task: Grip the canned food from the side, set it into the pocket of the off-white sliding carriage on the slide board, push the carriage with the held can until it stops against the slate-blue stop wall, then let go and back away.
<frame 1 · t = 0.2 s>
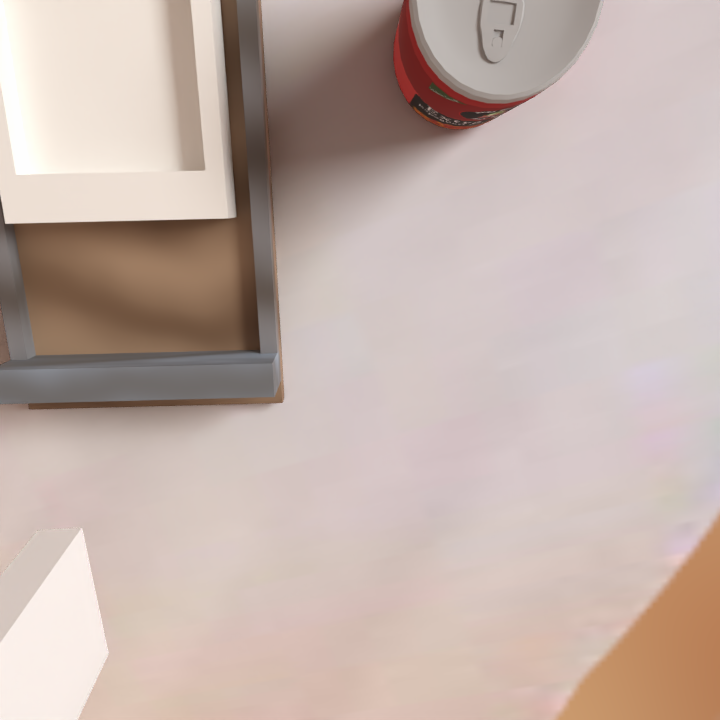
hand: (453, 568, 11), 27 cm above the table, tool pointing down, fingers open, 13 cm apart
canned food: (458, 56, 34), on the table
slide board: (135, 184, 35), on the table
carriage: (109, 89, 32), point 2 cm above the table, slide at 0.0 cm
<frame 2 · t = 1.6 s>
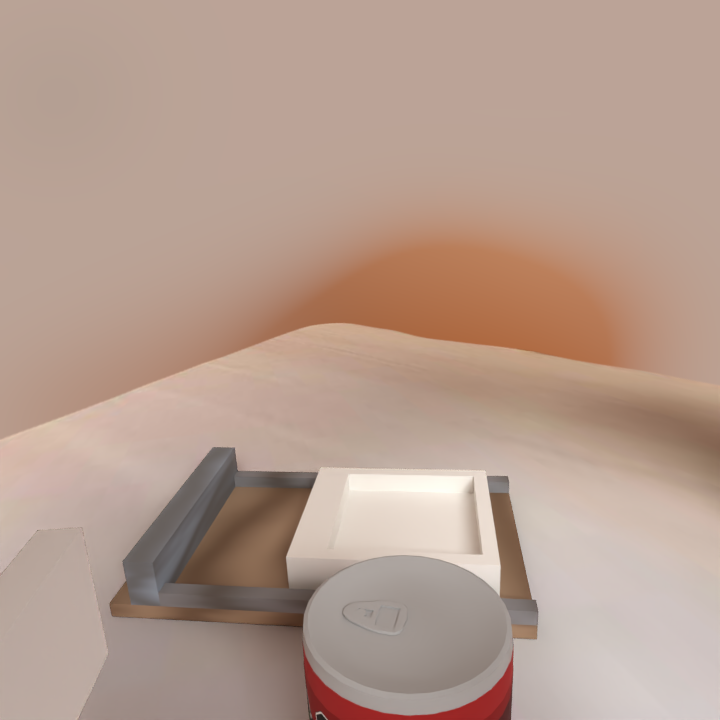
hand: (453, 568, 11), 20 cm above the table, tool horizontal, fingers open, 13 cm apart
slide board: (335, 549, 45), on the table
carriage: (397, 523, 43), point 2 cm above the table, slide at 0.0 cm
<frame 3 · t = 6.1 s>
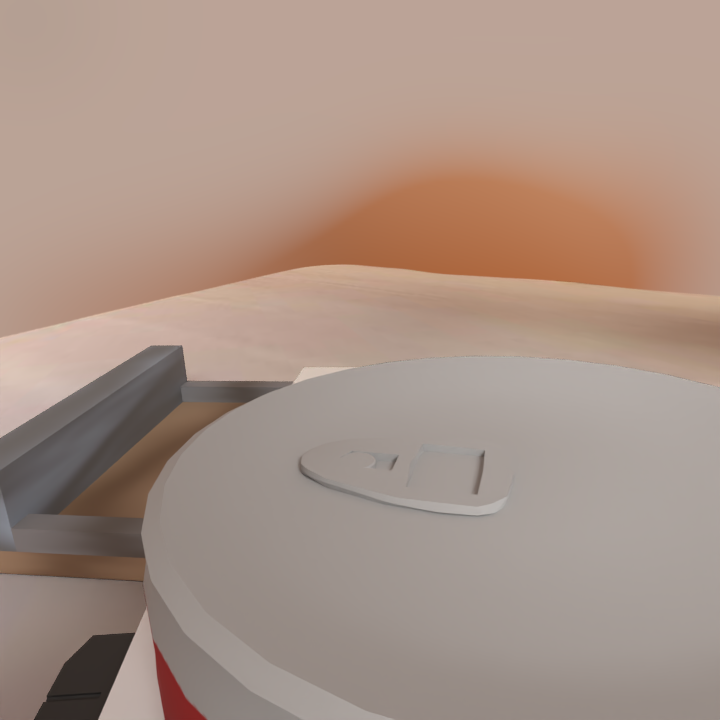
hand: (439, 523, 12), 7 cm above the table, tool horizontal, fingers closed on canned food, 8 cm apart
slide board: (322, 477, 29), on the table
carriage: (420, 434, 27), point 2 cm above the table, slide at 0.0 cm
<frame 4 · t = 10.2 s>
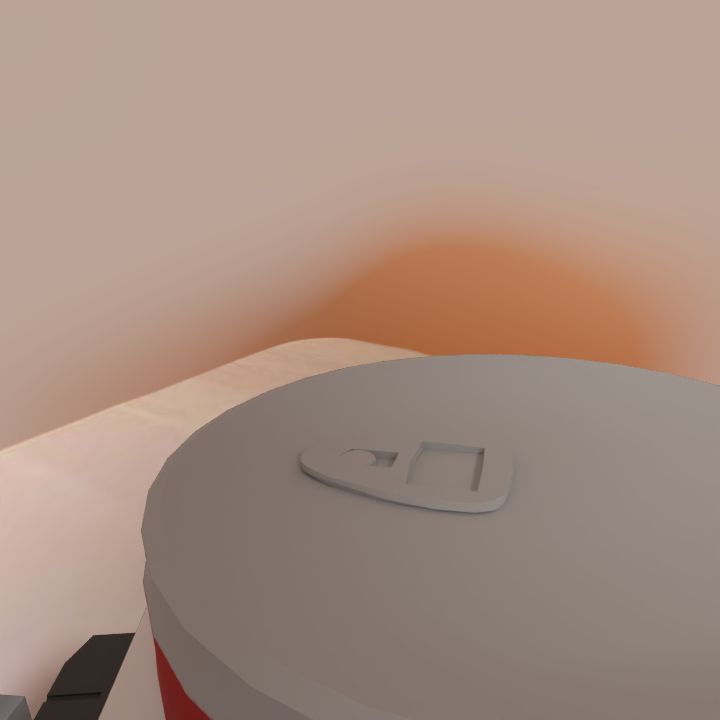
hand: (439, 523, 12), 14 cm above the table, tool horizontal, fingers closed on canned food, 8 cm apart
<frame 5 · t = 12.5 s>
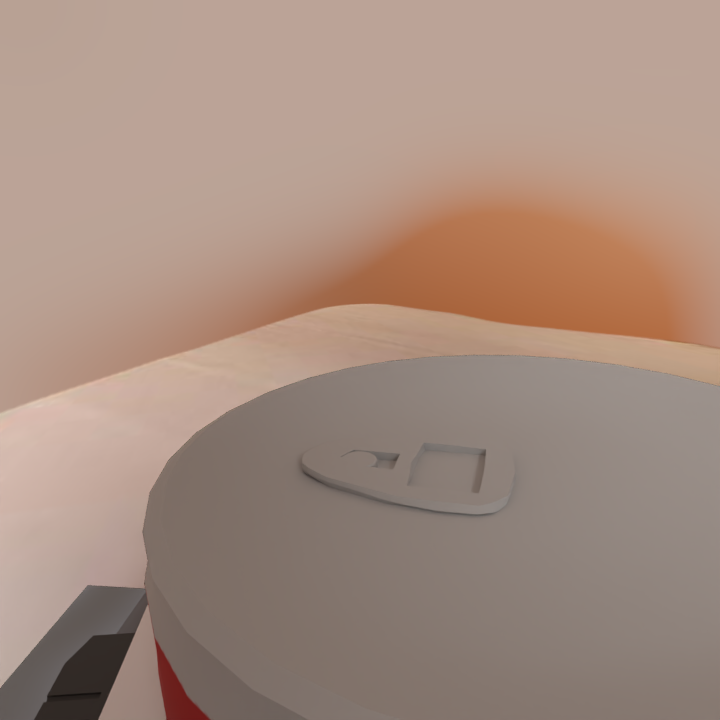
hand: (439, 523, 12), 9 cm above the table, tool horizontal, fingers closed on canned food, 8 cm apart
when the fingers open (9 cm above the table, at t = 14.7 s): canned food stays where it is, resting on carriage.
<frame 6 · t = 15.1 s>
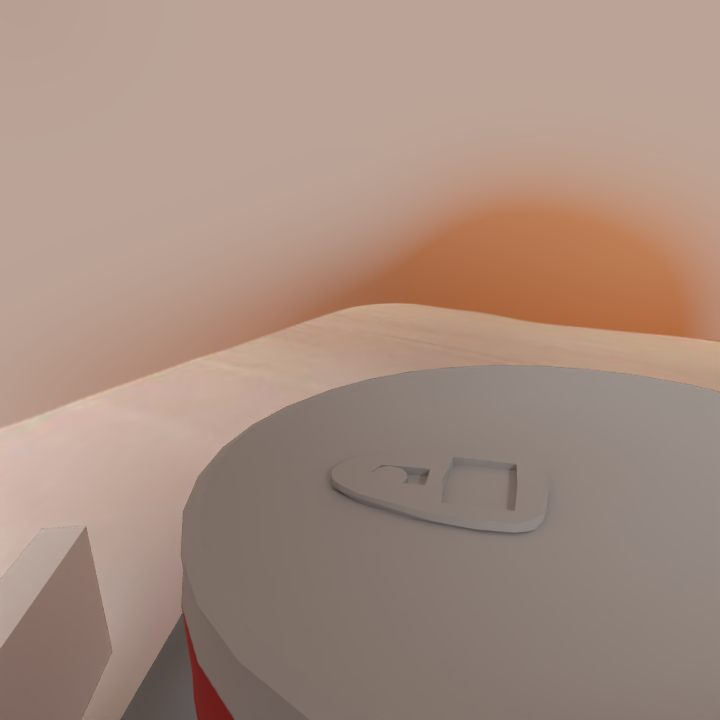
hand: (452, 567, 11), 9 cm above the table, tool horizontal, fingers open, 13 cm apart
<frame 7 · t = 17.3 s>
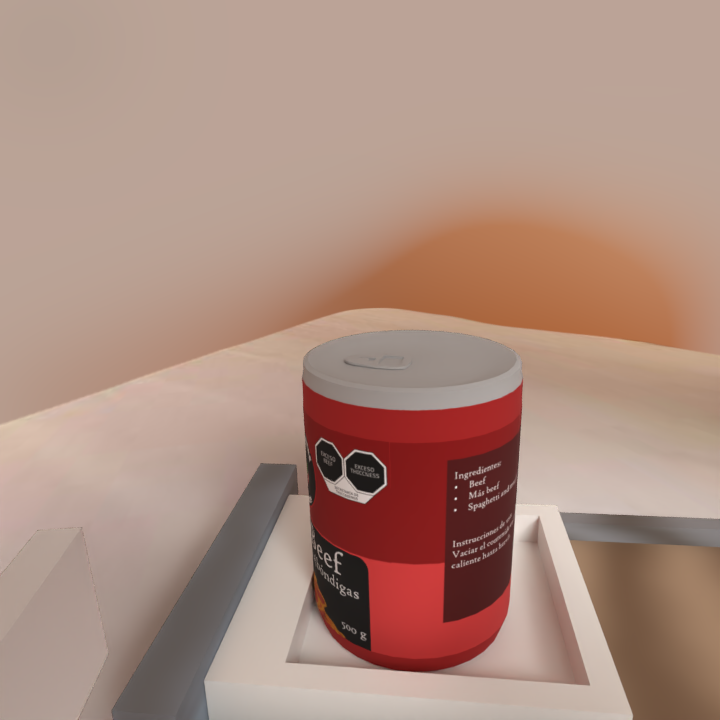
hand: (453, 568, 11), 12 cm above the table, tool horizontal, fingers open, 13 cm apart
canned food: (410, 609, 25), point 2 cm above the table, touching carriage
slide board: (491, 651, 25), on the table
carriage: (415, 600, 25), point 2 cm above the table, slide at 8.0 cm, touching canned food
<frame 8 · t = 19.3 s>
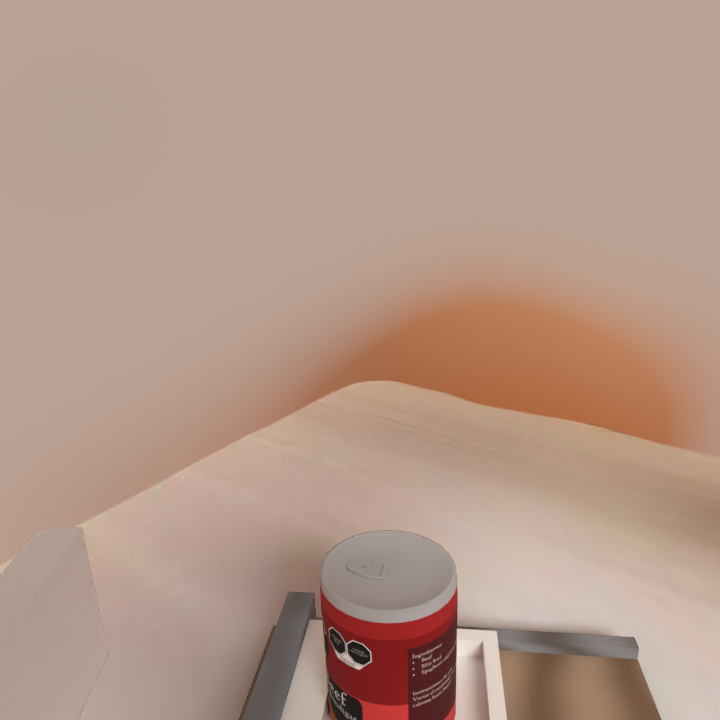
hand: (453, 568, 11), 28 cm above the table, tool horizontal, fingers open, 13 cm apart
canned food: (392, 715, 38), point 2 cm above the table, touching carriage
carriage: (395, 710, 38), point 2 cm above the table, slide at 8.0 cm, touching canned food
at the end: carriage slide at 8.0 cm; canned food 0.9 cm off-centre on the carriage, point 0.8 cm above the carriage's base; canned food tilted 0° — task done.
